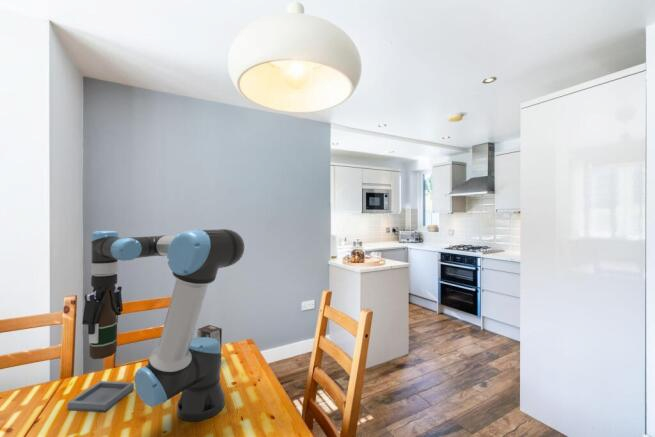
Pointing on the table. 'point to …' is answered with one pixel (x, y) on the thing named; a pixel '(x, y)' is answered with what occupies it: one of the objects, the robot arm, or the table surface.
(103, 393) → the tray
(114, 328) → the beer bottle
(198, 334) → the coffee box
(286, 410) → the table surface
